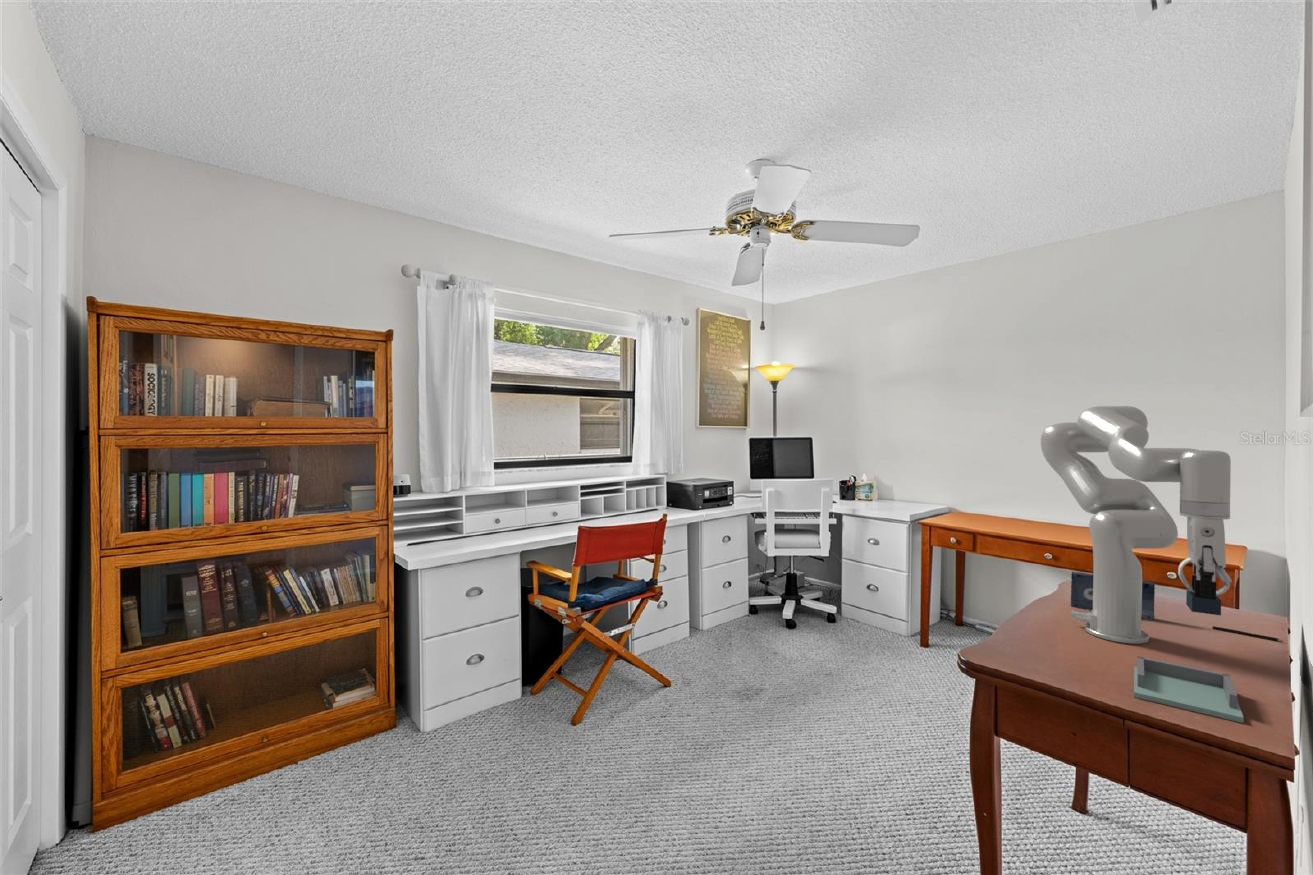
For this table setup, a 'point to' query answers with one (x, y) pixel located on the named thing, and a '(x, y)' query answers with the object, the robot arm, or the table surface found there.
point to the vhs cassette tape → (1084, 594)
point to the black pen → (1248, 634)
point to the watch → (1205, 603)
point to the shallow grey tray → (1187, 688)
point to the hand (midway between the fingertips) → (1203, 596)
